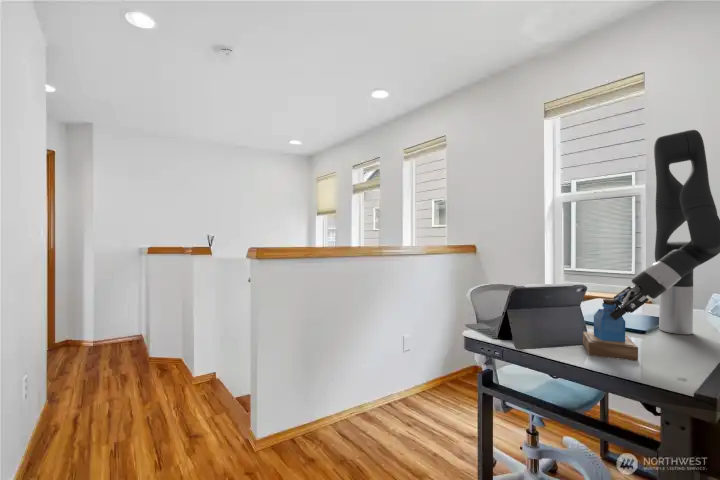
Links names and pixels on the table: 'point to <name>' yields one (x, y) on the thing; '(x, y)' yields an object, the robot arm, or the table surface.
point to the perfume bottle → (608, 323)
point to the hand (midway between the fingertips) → (609, 314)
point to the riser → (610, 347)
